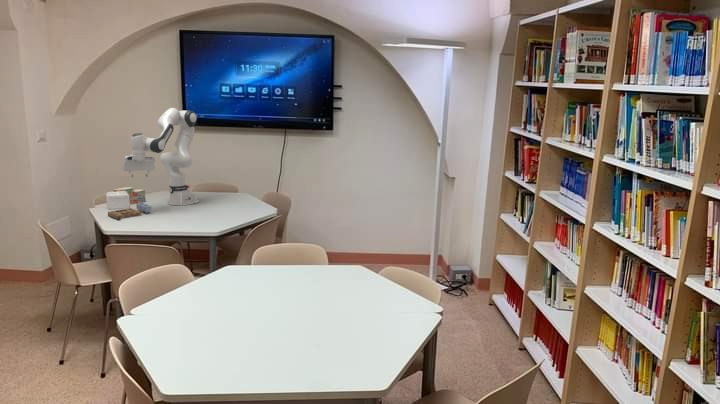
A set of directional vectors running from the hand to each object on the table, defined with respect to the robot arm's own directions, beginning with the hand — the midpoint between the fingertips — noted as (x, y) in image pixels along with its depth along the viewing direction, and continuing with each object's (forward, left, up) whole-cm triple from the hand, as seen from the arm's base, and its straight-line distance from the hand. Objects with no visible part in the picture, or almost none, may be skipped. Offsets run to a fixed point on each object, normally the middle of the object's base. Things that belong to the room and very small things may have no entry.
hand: (139, 176), depth 355 cm
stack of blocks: (-6, -32, -26) cm, 42 cm away
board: (+13, +4, -25) cm, 29 cm away
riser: (0, +4, -25) cm, 26 cm away
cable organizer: (+7, -21, -26) cm, 34 cm away
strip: (0, +4, -25) cm, 25 cm away
